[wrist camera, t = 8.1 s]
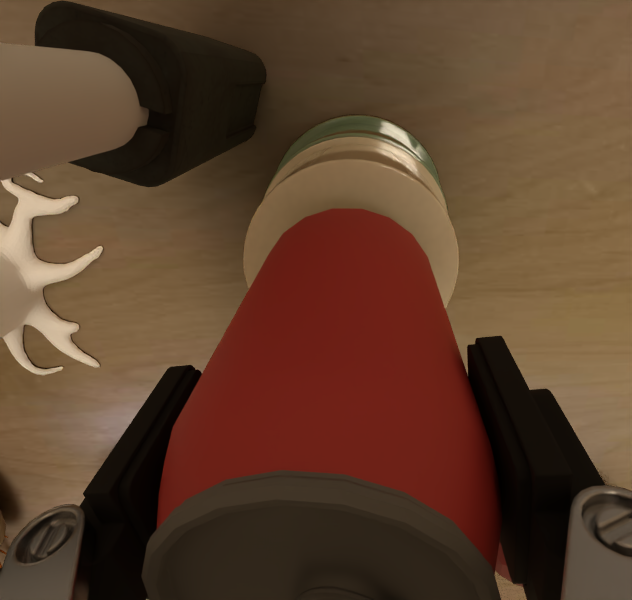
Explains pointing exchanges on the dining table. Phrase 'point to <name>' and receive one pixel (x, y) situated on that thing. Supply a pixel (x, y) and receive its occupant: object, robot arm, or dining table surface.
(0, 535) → the nautilus
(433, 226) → the cup stack
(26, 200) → the tree stump
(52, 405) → the dining table surface
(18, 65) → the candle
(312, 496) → the beer can
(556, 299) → the dining table surface
